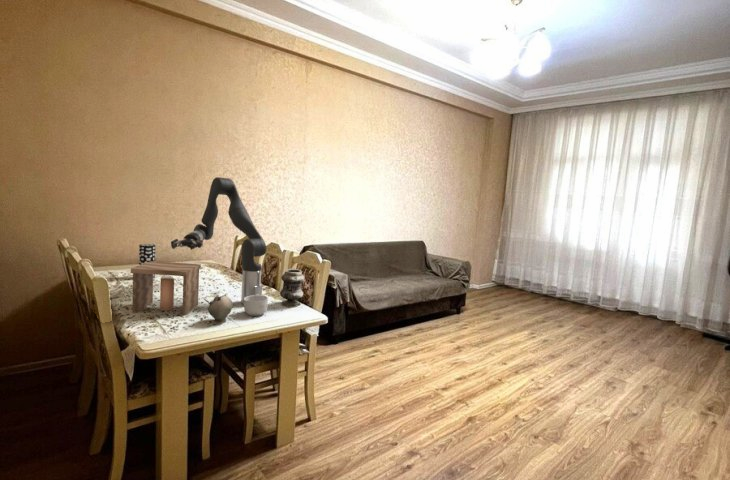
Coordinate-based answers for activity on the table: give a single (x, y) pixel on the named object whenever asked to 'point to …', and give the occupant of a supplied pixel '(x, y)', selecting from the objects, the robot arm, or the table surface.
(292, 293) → the dark mottled vase
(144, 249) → the spotted tube
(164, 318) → the table surface
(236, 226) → the robot arm
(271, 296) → the table surface
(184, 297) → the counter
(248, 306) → the teacup
